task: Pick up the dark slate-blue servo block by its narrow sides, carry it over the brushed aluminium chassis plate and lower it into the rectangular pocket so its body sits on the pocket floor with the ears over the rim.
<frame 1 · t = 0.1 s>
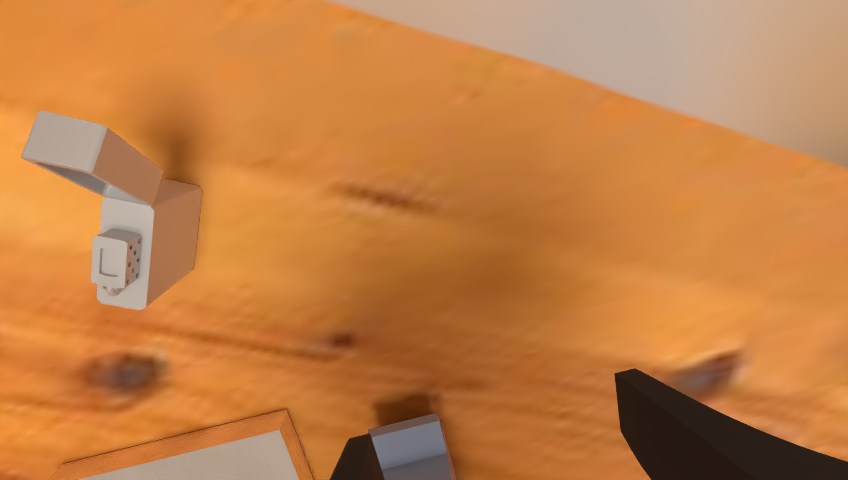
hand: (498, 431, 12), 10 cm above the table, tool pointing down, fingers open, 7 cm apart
lighter: (183, 194, 20), on the table
servo: (422, 468, 25), on the table
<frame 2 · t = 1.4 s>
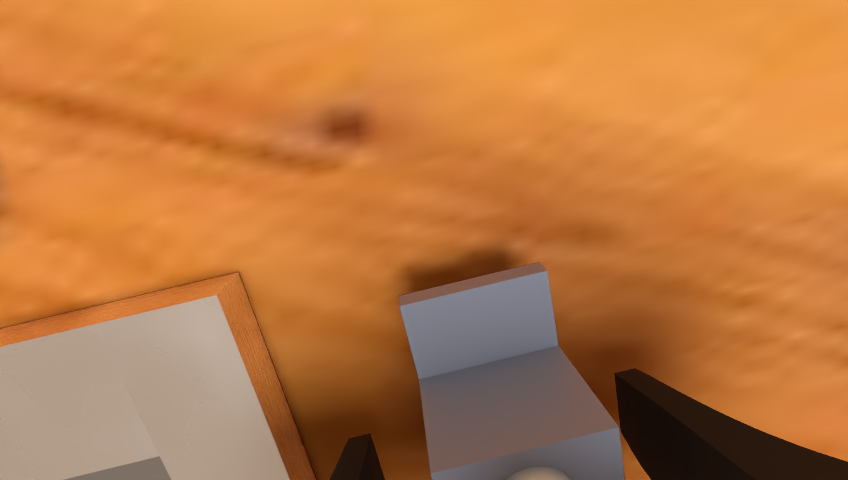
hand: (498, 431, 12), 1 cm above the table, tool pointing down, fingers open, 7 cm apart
servo: (487, 398, 14), on the table
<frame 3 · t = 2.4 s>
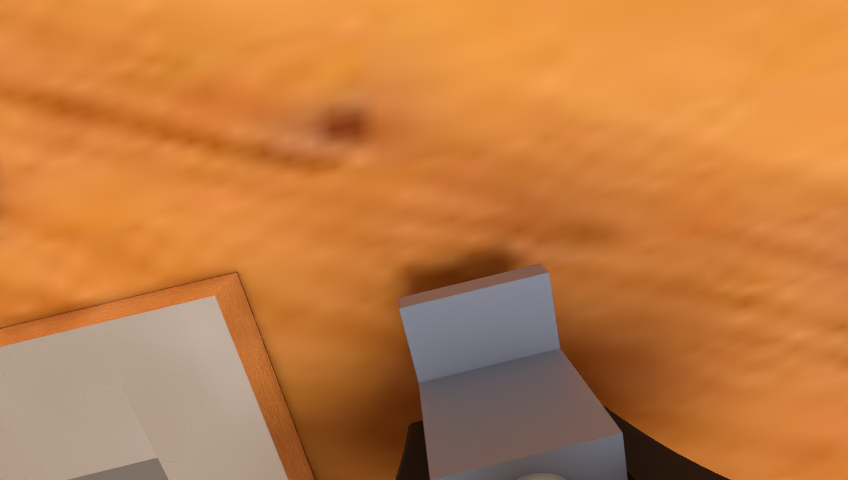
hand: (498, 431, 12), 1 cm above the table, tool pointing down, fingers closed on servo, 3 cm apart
servo: (487, 400, 14), on the table, touching gripper
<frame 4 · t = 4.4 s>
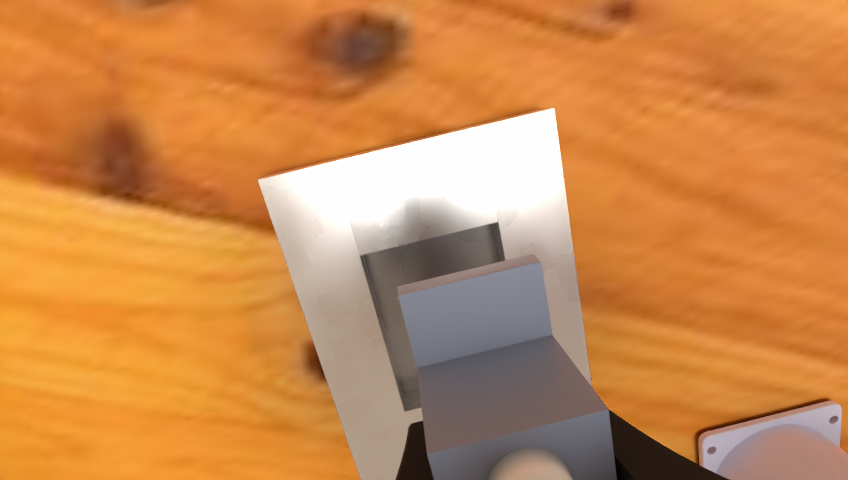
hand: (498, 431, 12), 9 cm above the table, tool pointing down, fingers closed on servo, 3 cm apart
chassis: (444, 306, 21), on the table
servo: (484, 389, 14), point 7 cm above the table, touching gripper
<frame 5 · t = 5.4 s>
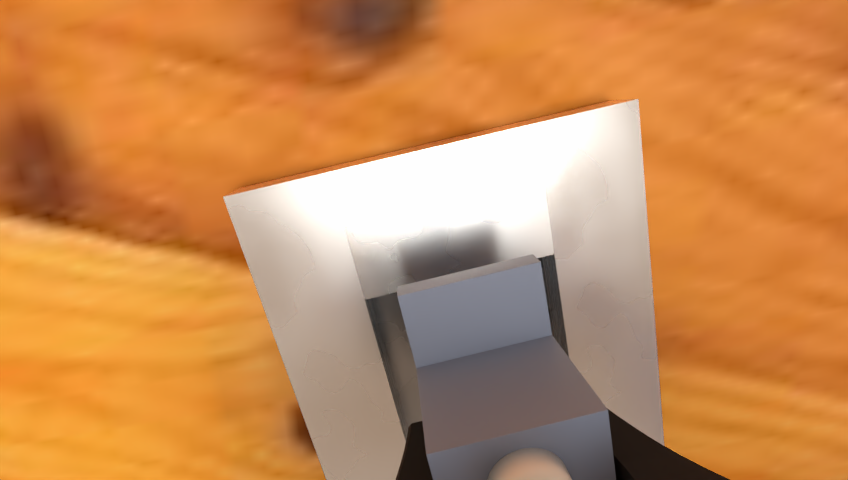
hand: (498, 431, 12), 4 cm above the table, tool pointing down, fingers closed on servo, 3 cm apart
chassis: (474, 359, 16), on the table
servo: (483, 389, 14), point 2 cm above the table, touching gripper
when the fingers open (3 cm above the table, at t = 6.4 s): servo stays where it is, resting on chassis.
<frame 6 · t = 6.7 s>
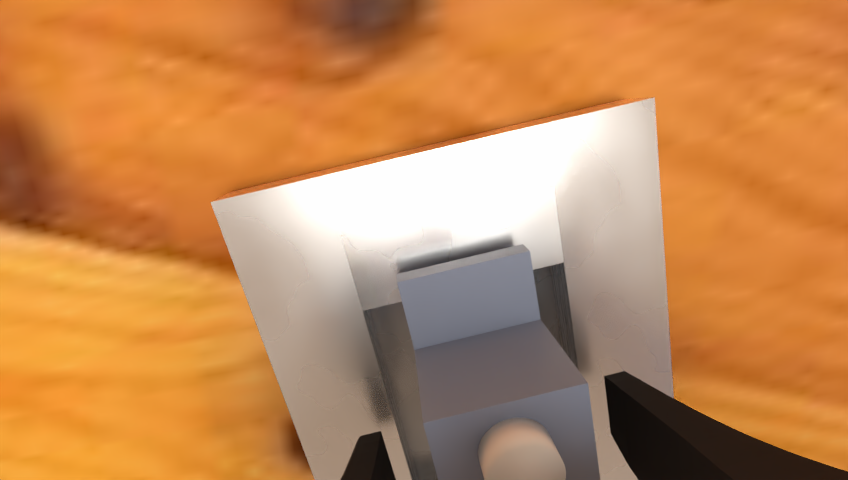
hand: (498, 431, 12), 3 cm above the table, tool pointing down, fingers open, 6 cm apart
chassis: (477, 372, 15), on the table
servo: (478, 373, 15), resting on chassis
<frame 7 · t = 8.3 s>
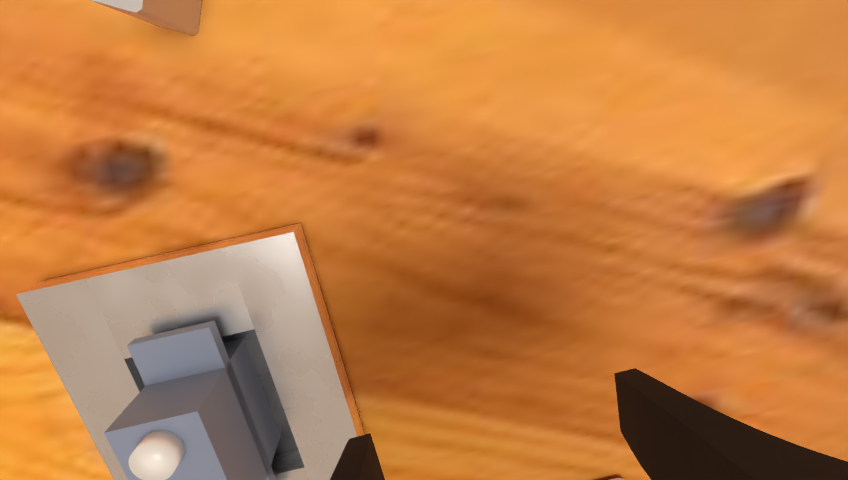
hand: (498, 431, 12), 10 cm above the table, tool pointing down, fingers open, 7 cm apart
chassis: (230, 395, 23), on the table
servo: (228, 397, 22), resting on chassis
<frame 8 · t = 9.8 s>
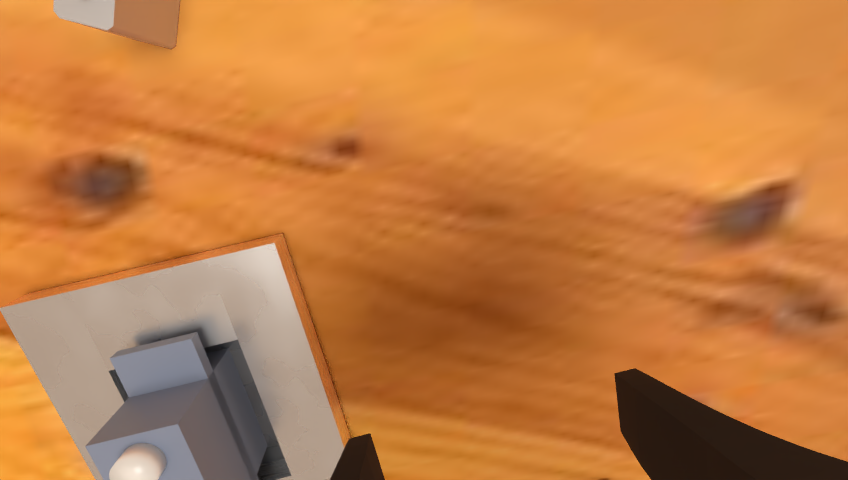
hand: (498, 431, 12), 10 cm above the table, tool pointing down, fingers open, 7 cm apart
chassis: (217, 405, 23), on the table
servo: (215, 406, 22), resting on chassis
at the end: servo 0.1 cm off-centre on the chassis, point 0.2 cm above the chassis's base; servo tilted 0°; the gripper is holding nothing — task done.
